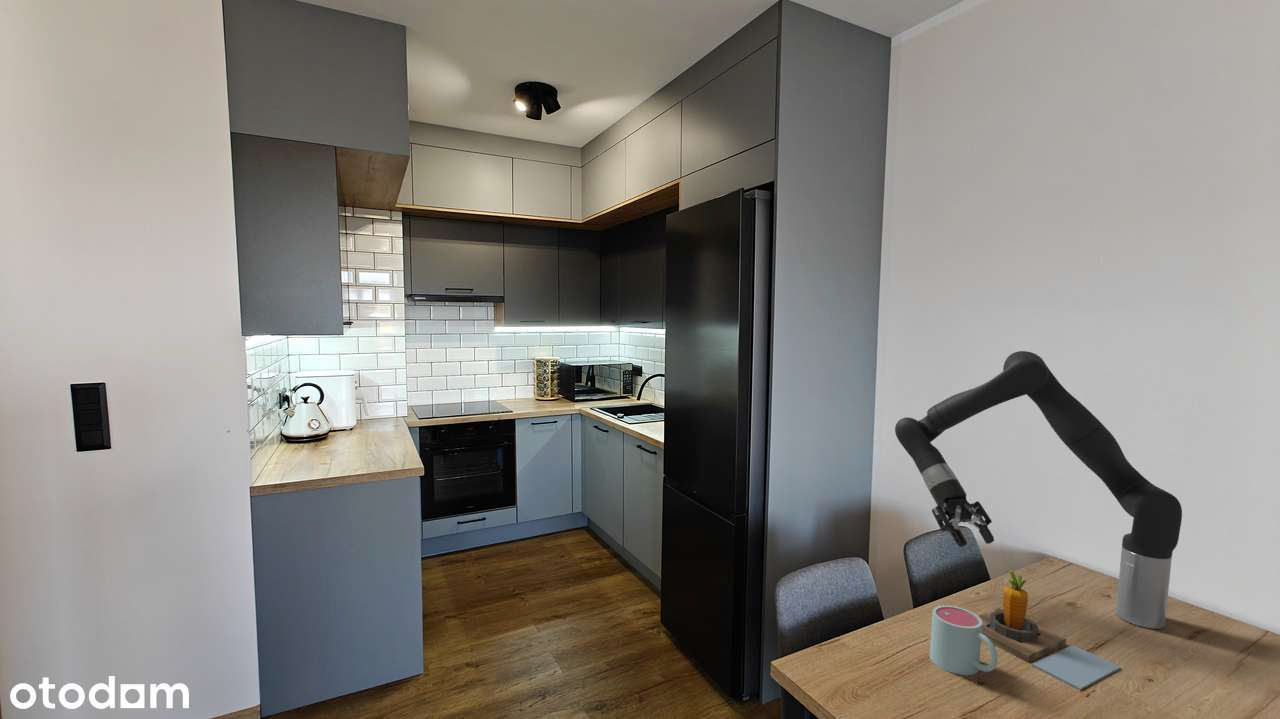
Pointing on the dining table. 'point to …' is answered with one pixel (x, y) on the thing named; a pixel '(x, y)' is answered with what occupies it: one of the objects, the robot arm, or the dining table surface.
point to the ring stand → (1020, 636)
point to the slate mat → (1076, 667)
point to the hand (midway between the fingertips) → (977, 544)
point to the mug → (959, 641)
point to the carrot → (1015, 602)
